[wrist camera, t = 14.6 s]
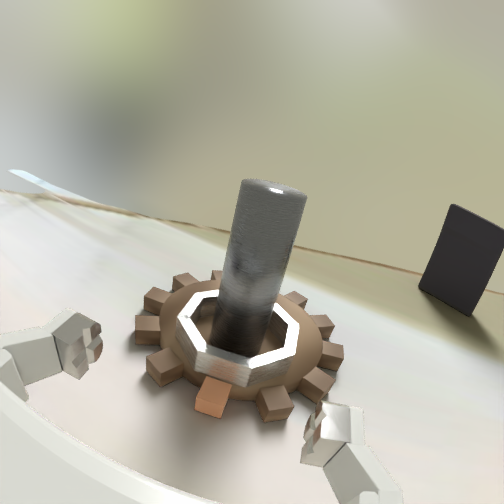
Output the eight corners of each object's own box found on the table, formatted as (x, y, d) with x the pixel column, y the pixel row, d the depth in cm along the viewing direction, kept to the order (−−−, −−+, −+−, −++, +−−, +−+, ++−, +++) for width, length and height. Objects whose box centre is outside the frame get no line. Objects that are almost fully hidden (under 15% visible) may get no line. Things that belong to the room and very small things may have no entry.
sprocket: (93, 363, 18) (87, 327, 17) (185, 266, 35) (189, 238, 33) (335, 447, 16) (359, 419, 15) (335, 311, 33) (346, 285, 31)
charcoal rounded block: (471, 310, 41) (507, 230, 35) (469, 319, 38) (509, 233, 32) (421, 281, 47) (453, 202, 41) (416, 288, 44) (450, 202, 38)
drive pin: (202, 349, 21) (233, 184, 16) (218, 319, 25) (250, 175, 20) (254, 366, 21) (305, 204, 16) (264, 334, 24) (308, 191, 19)
